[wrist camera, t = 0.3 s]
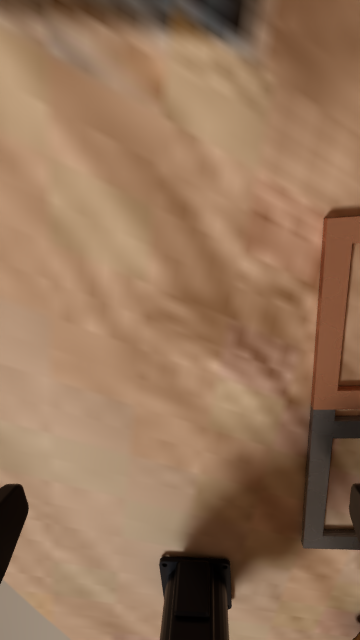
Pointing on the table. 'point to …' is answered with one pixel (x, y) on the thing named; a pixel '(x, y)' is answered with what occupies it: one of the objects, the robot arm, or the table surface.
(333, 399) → the rectangular frame
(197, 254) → the table surface
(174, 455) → the table surface
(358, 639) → the decorative figurine
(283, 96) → the table surface
